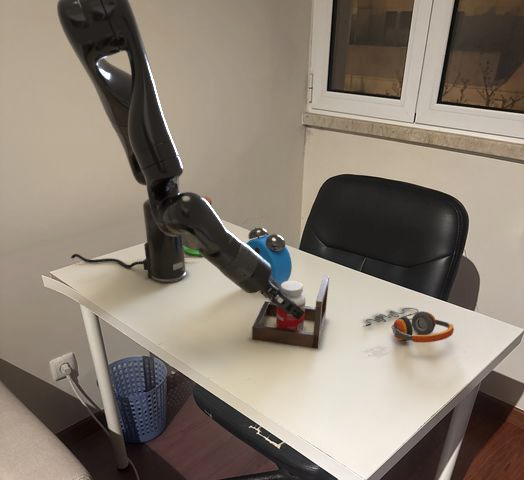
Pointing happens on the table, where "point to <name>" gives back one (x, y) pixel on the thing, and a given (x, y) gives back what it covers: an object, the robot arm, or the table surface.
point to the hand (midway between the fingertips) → (294, 308)
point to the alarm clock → (272, 253)
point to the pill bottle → (296, 295)
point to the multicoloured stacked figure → (192, 239)
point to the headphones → (417, 327)
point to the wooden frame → (289, 335)
